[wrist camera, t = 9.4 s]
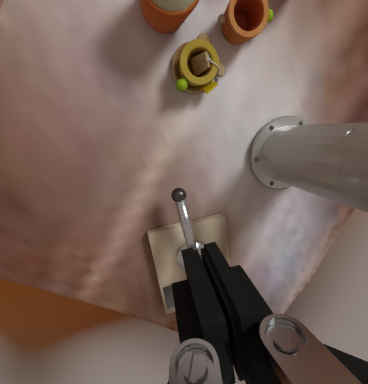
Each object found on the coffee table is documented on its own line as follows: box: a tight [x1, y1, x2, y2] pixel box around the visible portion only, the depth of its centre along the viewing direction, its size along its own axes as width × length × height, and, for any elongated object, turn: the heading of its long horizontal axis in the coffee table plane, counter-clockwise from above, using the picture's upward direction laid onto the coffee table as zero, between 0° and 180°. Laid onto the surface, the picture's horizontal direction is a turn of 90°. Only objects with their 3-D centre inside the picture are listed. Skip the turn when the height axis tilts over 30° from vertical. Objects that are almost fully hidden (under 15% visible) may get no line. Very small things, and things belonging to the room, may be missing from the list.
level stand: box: [148, 213, 230, 315], centre depth 38 cm, size 14×18×2 cm
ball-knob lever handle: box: [171, 188, 204, 277], centre depth 34 cm, size 23×6×4 cm, turn 13°
